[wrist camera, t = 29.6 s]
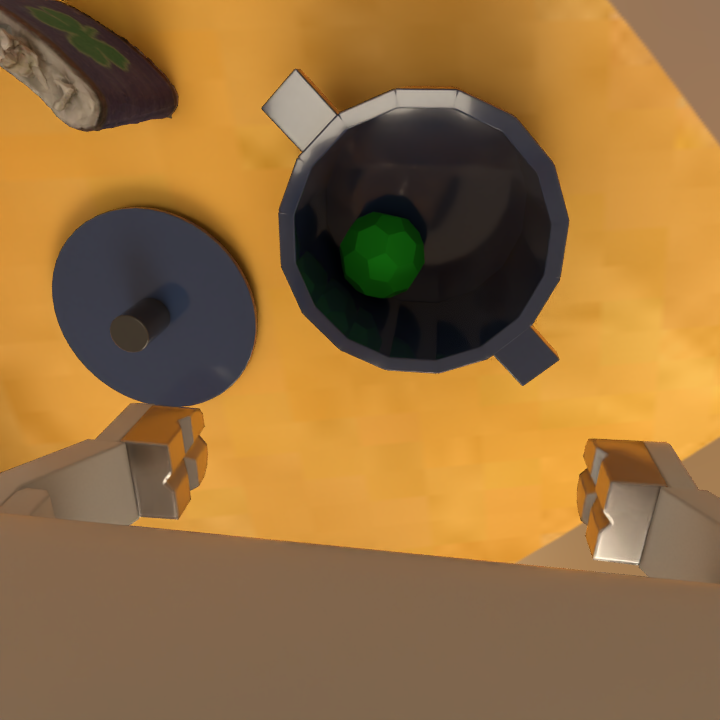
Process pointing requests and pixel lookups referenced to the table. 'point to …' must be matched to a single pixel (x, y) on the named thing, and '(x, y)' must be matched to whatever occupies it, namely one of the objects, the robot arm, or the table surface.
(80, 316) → the pot lid
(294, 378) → the table surface
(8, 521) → the robot arm
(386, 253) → the polyhedron
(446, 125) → the pot
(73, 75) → the flask
